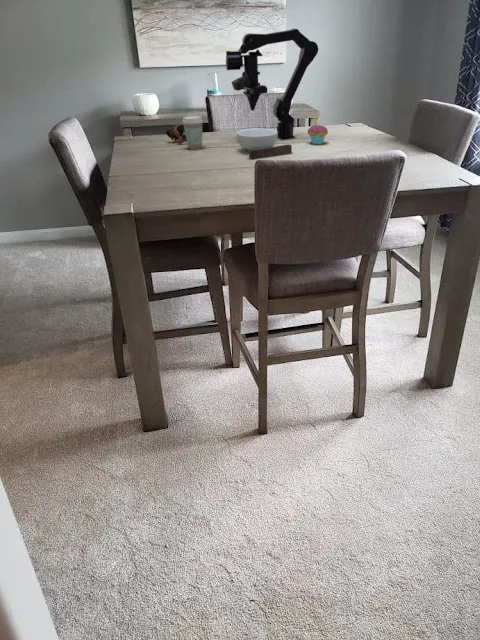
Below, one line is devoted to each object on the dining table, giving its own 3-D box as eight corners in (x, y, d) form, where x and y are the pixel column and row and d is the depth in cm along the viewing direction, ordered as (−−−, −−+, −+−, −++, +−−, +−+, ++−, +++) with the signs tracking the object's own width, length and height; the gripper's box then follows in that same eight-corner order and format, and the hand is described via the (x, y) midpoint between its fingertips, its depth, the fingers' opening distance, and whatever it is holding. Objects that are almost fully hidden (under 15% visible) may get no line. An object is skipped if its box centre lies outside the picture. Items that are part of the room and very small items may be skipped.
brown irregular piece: (192, 140, 227) (194, 124, 220) (189, 153, 222) (191, 138, 215) (166, 133, 225) (167, 118, 218) (163, 147, 220) (163, 132, 213)
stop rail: (289, 152, 200) (289, 144, 198) (291, 153, 198) (291, 145, 196) (248, 158, 193) (248, 150, 192) (250, 159, 192) (250, 151, 190)
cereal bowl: (264, 156, 195) (263, 137, 191) (229, 152, 202) (228, 134, 198) (285, 147, 207) (285, 129, 203) (251, 144, 214) (251, 126, 210)
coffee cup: (188, 151, 207) (184, 119, 200) (183, 147, 213) (179, 116, 206) (207, 148, 209) (205, 117, 202) (202, 144, 216) (199, 114, 209)
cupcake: (304, 144, 210) (305, 113, 203) (310, 140, 216) (311, 110, 210) (324, 145, 207) (325, 114, 200) (329, 141, 214) (331, 111, 207)
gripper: (224, 68, 210) (227, 109, 219) (242, 72, 196) (244, 115, 205) (248, 67, 214) (250, 106, 223) (267, 70, 200) (268, 112, 209)
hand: (252, 110), depth 215 cm, fingers closed
